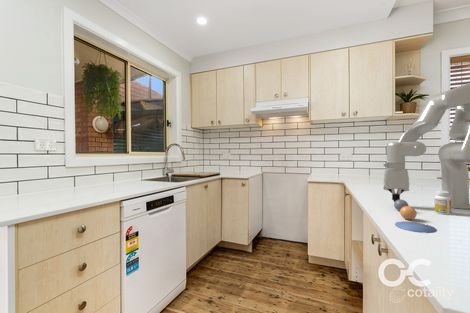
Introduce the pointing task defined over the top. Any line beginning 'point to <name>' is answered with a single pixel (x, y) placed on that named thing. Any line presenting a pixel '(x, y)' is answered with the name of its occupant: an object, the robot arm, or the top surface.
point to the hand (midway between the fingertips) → (396, 201)
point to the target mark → (415, 227)
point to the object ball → (408, 212)
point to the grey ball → (400, 204)
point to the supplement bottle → (443, 203)
